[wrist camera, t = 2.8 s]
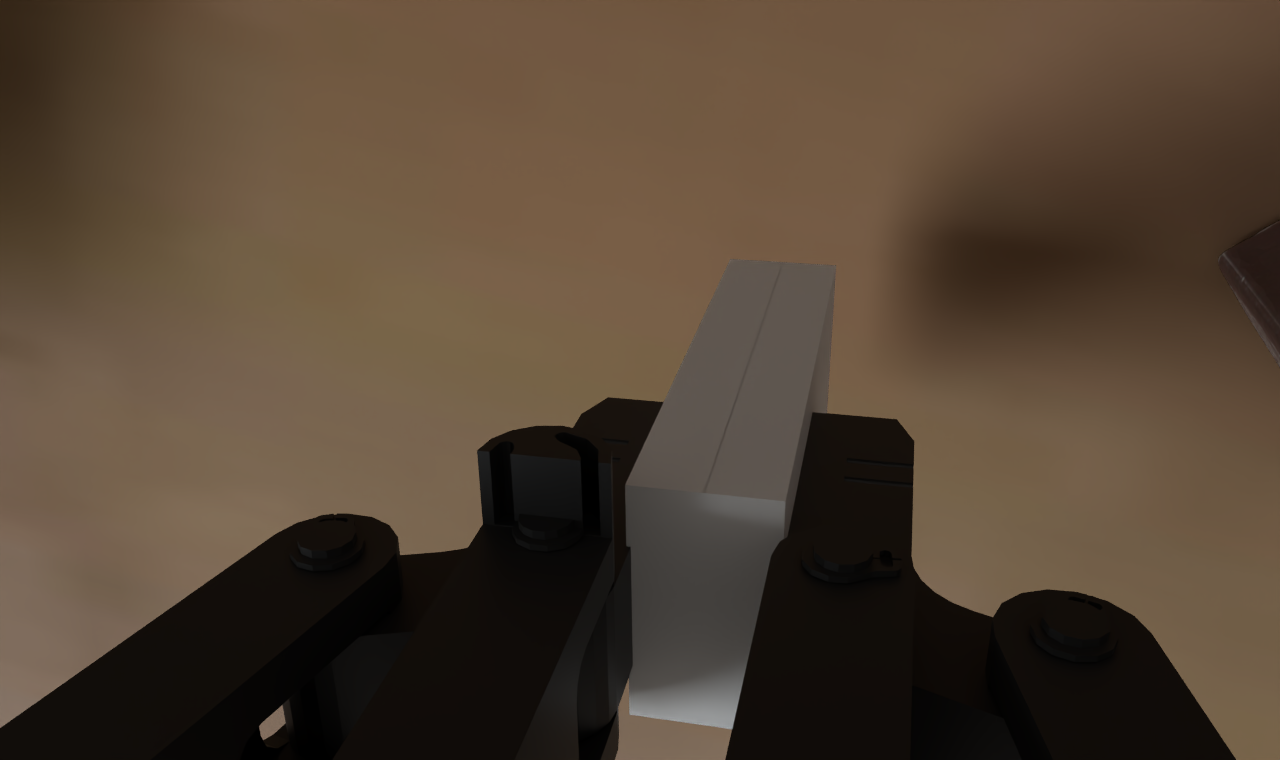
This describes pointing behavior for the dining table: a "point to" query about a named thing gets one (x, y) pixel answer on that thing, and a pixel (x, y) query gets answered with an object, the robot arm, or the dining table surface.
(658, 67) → the dining table surface
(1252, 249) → the box
